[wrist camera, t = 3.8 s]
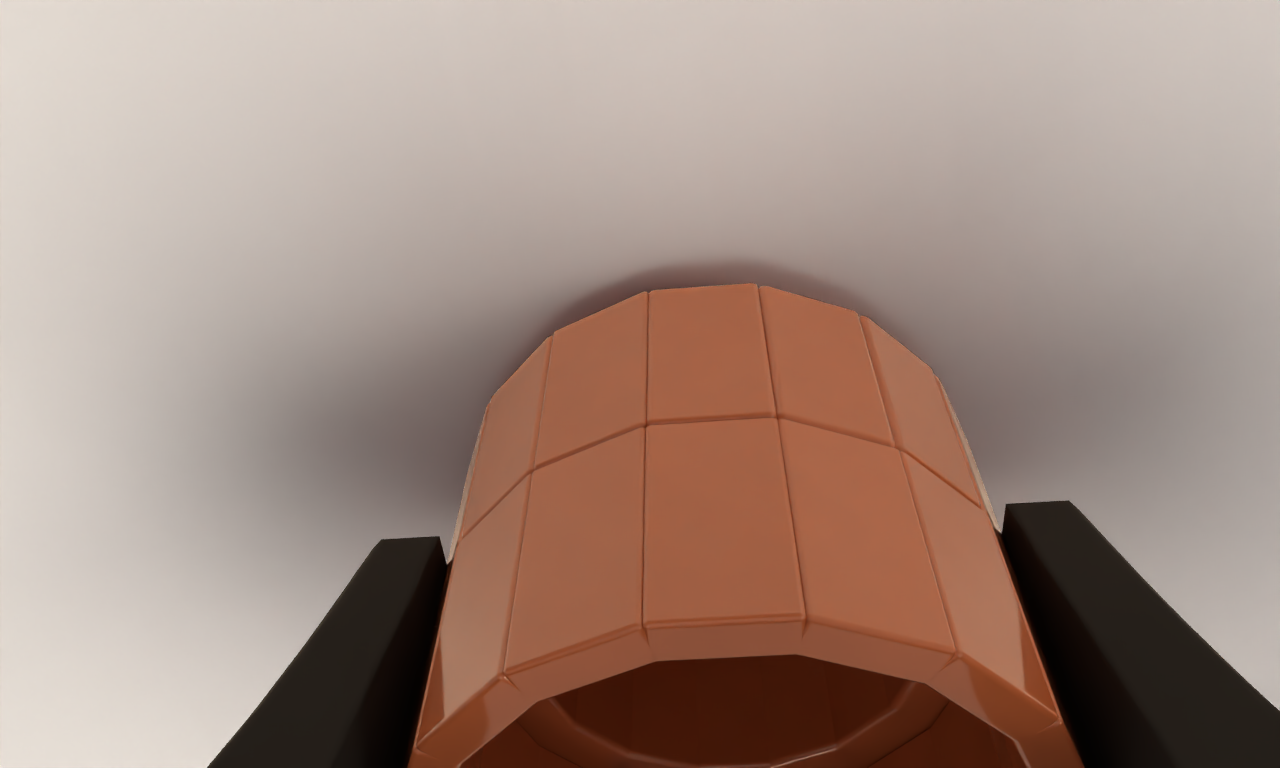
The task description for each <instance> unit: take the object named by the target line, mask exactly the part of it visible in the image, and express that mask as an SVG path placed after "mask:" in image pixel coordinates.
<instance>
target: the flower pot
mask: <svg viewBox="0 0 1280 768" xmlns="http://www.w3.org/2000/svg"><path fill="white" fill-rule="evenodd" d="M401 768H1089V767H1088V765H1087V762H1086V759H1085V756H1084V754H1083V751H1082V748H1081V746H1080V743H1079V740H1078V738H1077V735H1076V732H1075V729H1074V727H1073V724H1072V721H1071V719H1070V716H1069V713H1068V710H1067V708H1066V705H1065V702H1064V700H1063V697H1062V694H1061V692H1060V689H1059V686H1058V683H1057V681H1056V678H1055V675H1054V673H1053V670H1052V667H1051V665H1050V662H1049V659H1048V656H1047V654H1046V651H1045V648H1044V646H1043V643H1042V640H1041V638H1040V635H1039V632H1038V629H1037V627H1036V624H1035V621H1034V619H1033V616H1032V613H1031V611H1030V608H1029V605H1028V603H1027V600H1026V597H1025V594H1024V592H1023V589H1022V587H1021V585H1020V583H1019V581H1018V576H1017V573H1016V571H1015V568H1014V565H1013V563H1012V560H1011V557H1010V554H1009V552H1008V549H1007V546H1006V544H1005V541H1004V538H1003V536H1002V533H1001V530H1000V527H999V525H998V522H997V519H996V517H995V514H994V511H993V508H992V506H991V503H990V500H989V498H988V495H987V492H986V490H985V487H984V484H983V481H982V479H981V476H980V473H979V471H978V468H977V465H976V463H975V460H974V457H973V454H972V452H971V449H970V446H969V444H968V441H967V439H966V437H965V434H964V432H963V430H962V428H961V425H960V423H959V421H958V419H957V416H956V414H955V412H954V410H953V407H952V405H951V403H950V401H949V399H948V396H947V394H946V392H945V390H944V387H943V385H942V383H941V381H940V379H939V378H938V377H937V376H936V375H934V373H933V371H932V368H931V367H929V366H928V365H927V364H926V363H924V362H923V361H922V360H921V359H919V358H918V357H917V356H916V355H914V354H913V353H912V352H911V351H909V350H908V349H907V348H906V347H904V346H903V345H902V344H901V343H899V342H898V341H897V340H896V339H894V338H893V337H892V336H891V335H889V334H888V333H887V332H886V331H884V330H883V329H882V328H881V327H879V326H878V325H877V324H875V323H874V322H873V321H872V320H870V319H869V318H868V317H866V316H863V315H861V316H859V314H858V313H856V312H855V311H853V310H850V309H847V308H843V307H840V306H836V305H833V304H829V303H826V302H822V301H819V300H815V299H812V298H808V297H805V296H801V295H798V294H794V293H791V292H787V291H784V290H780V289H777V288H773V287H770V286H760V287H759V288H758V286H757V285H756V284H754V283H743V284H729V285H714V286H700V287H686V288H672V289H658V290H652V291H650V292H649V293H648V292H646V291H644V292H641V293H639V294H637V295H634V296H632V297H630V298H628V299H625V300H623V301H621V302H619V303H616V304H614V305H612V306H610V307H607V308H605V309H603V310H601V311H598V312H596V313H594V314H592V315H590V316H587V317H585V318H583V319H581V320H578V321H576V322H574V323H572V324H569V325H567V326H565V327H563V328H560V329H558V330H556V331H555V332H554V333H553V335H551V336H549V337H548V338H546V339H545V340H544V342H543V343H542V344H541V345H540V346H539V347H538V348H537V349H536V350H535V351H534V352H533V353H532V354H531V355H530V356H529V358H528V359H527V360H526V361H525V362H524V363H523V364H522V365H521V366H520V367H519V368H518V369H517V370H516V371H515V372H514V373H513V375H512V376H511V377H510V378H509V379H508V380H507V381H506V382H505V383H504V384H503V385H502V386H501V387H500V388H499V389H498V390H497V392H496V393H495V394H494V395H493V396H492V397H491V401H490V403H489V404H488V405H487V406H486V410H485V413H484V416H483V420H482V423H481V427H480V430H479V434H478V437H477V441H476V444H475V448H474V451H473V455H472V458H471V462H470V465H469V468H468V472H467V476H466V481H465V485H464V490H463V494H462V499H461V503H460V508H459V512H458V517H457V521H456V526H455V530H454V535H453V539H452V544H451V548H450V553H449V557H448V561H447V566H446V570H445V575H444V579H443V584H442V588H441V593H440V597H439V602H438V606H437V613H436V616H435V620H434V624H433V628H432V633H431V637H430V641H429V646H428V650H427V655H426V659H425V664H424V668H423V673H422V677H421V682H420V686H419V691H418V695H417V700H416V704H415V709H414V713H413V717H412V722H411V726H410V731H409V735H408V740H407V744H406V749H405V753H404V758H403V762H402V767H401Z"/></svg>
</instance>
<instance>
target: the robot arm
mask: <svg viewBox="0 0 1280 768" xmlns="http://www.w3.org/2000/svg"><path fill="white" fill-rule="evenodd" d="M1002 536H1003V538H1004V541H1005V544H1006V546H1007V549H1008V552H1009V554H1010V557H1011V560H1012V563H1013V565H1014V568H1015V571H1016V573H1017V576H1018V581H1019V583H1020V585H1021V587H1022V589H1023V592H1024V594H1025V597H1026V600H1027V603H1028V605H1029V608H1030V611H1031V613H1032V616H1033V619H1034V621H1035V624H1036V627H1037V629H1038V632H1039V635H1040V638H1041V640H1042V643H1043V646H1044V648H1045V651H1046V654H1047V656H1048V659H1049V662H1050V665H1051V667H1052V670H1053V673H1054V675H1055V678H1056V681H1057V683H1058V686H1059V689H1060V692H1061V694H1062V697H1063V700H1064V702H1065V705H1066V708H1067V710H1068V713H1069V716H1070V719H1071V721H1072V724H1073V727H1074V729H1075V732H1076V735H1077V738H1078V740H1079V743H1080V746H1081V748H1082V751H1083V754H1084V756H1085V759H1086V762H1087V765H1088V767H1089V768H1280V711H1279V710H1278V709H1277V708H1276V707H1275V706H1273V705H1272V704H1271V703H1270V702H1269V701H1268V700H1267V699H1266V698H1265V697H1264V696H1263V695H1261V694H1260V693H1259V692H1258V691H1257V690H1256V689H1255V688H1254V687H1253V686H1252V685H1251V684H1250V683H1248V682H1247V681H1246V680H1245V679H1244V678H1243V677H1242V676H1241V675H1240V674H1239V673H1238V672H1237V671H1236V670H1235V669H1234V668H1233V667H1232V666H1231V665H1230V664H1228V663H1227V662H1226V661H1225V660H1224V659H1223V658H1222V657H1221V656H1220V655H1219V654H1218V653H1217V652H1216V651H1215V650H1214V649H1213V648H1212V647H1211V646H1210V645H1209V644H1208V643H1207V642H1206V641H1205V640H1204V639H1203V638H1202V637H1201V636H1200V635H1199V634H1198V633H1197V632H1195V631H1194V630H1193V629H1192V628H1191V627H1190V626H1189V625H1188V624H1187V623H1186V622H1185V621H1184V620H1183V619H1182V618H1181V617H1180V616H1179V615H1178V614H1177V613H1176V612H1175V611H1174V610H1173V609H1172V608H1171V607H1170V606H1169V605H1168V604H1167V602H1166V601H1165V600H1164V599H1163V598H1162V597H1161V596H1160V595H1159V594H1158V593H1157V592H1156V591H1155V590H1154V589H1153V588H1152V587H1151V586H1150V585H1149V584H1148V583H1147V582H1146V581H1145V580H1144V579H1143V578H1142V577H1141V576H1140V574H1139V573H1138V572H1137V571H1136V570H1135V569H1134V568H1133V567H1132V566H1131V565H1130V564H1129V563H1128V562H1127V561H1126V560H1125V559H1124V558H1123V556H1122V555H1121V554H1120V553H1119V552H1118V551H1117V550H1116V549H1115V548H1114V547H1113V546H1112V545H1111V544H1110V543H1109V542H1108V540H1107V539H1106V538H1105V537H1104V536H1103V535H1102V534H1101V533H1100V532H1099V531H1098V530H1097V529H1096V528H1095V526H1094V525H1093V524H1092V523H1091V522H1090V521H1089V520H1088V519H1087V518H1086V517H1085V516H1084V515H1083V514H1082V513H1081V511H1080V510H1079V509H1078V508H1077V507H1075V506H1074V505H1073V504H1072V503H1071V502H1070V501H1069V500H1068V501H1050V502H1033V503H1015V504H1006V507H1005V515H1004V522H1003V530H1002ZM446 566H447V564H446V560H445V556H444V552H443V549H442V545H441V541H440V537H439V536H435V537H417V538H400V539H382V540H380V542H379V543H378V544H377V545H376V546H375V547H374V548H373V549H372V551H371V552H370V553H369V555H368V556H367V558H366V559H365V561H364V562H363V563H362V565H361V566H360V568H359V569H358V570H357V572H356V573H355V575H354V576H353V578H352V579H351V581H350V582H349V583H348V585H347V586H346V588H345V589H344V591H343V592H342V593H341V595H340V596H339V598H338V599H337V600H336V602H335V603H334V605H333V606H332V608H331V609H330V610H329V612H328V613H327V615H326V616H325V617H324V619H323V620H322V621H321V623H320V624H319V626H318V627H317V628H316V630H315V631H314V633H313V634H312V635H311V637H310V638H309V639H308V641H307V642H306V644H305V645H304V646H303V648H302V649H301V650H300V652H299V653H298V654H297V656H296V657H295V658H294V660H293V661H292V662H291V663H290V665H289V666H288V667H287V669H286V670H285V671H284V673H283V674H282V675H281V677H280V678H279V679H278V681H277V682H276V683H275V684H274V686H273V687H272V688H271V690H270V691H269V692H268V694H267V695H266V696H265V698H264V699H263V700H262V702H261V703H260V704H259V705H258V707H257V708H256V709H255V710H254V712H253V713H252V714H251V715H250V717H249V718H248V719H247V720H246V722H245V723H244V724H243V725H242V726H241V728H240V729H239V730H238V731H237V732H236V734H235V735H234V736H233V737H232V738H231V740H230V741H229V742H228V743H227V744H226V746H225V747H224V748H223V749H222V750H221V752H220V753H219V754H218V755H217V756H216V758H215V759H214V760H213V761H212V762H211V763H210V765H209V766H208V767H207V768H401V767H402V762H403V758H404V753H405V749H406V744H407V740H408V735H409V731H410V726H411V722H412V717H413V713H414V709H415V704H416V700H417V695H418V691H419V686H420V682H421V677H422V673H423V668H424V664H425V659H426V655H427V650H428V646H429V641H430V637H431V633H432V628H433V624H434V620H435V616H436V613H437V606H438V602H439V597H440V593H441V588H442V584H443V579H444V575H445V570H446Z"/></svg>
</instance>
